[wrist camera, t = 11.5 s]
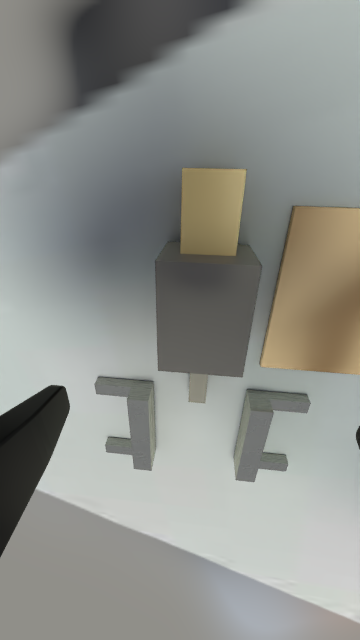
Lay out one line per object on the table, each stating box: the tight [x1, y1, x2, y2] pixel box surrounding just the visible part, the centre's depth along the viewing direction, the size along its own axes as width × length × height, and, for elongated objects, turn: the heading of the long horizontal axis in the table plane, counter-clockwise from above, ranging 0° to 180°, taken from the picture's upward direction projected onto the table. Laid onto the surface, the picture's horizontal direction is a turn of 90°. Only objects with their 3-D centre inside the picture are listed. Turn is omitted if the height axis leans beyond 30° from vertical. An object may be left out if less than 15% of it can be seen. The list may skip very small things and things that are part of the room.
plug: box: [155, 168, 262, 403], centre depth 14 cm, size 4×14×4 cm, turn 179°
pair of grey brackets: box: [95, 377, 311, 482], centre depth 20 cm, size 16×8×2 cm, turn 89°
